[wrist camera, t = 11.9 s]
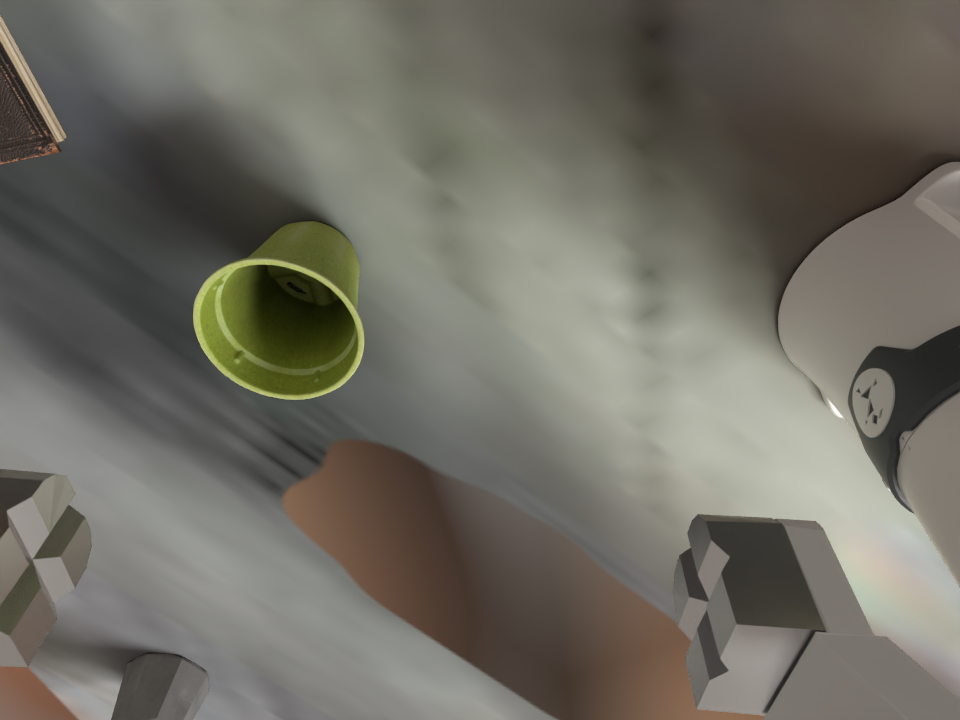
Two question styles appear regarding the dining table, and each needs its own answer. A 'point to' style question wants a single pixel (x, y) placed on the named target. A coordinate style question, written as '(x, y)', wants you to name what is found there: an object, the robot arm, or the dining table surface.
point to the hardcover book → (23, 108)
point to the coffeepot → (161, 689)
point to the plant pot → (285, 314)
